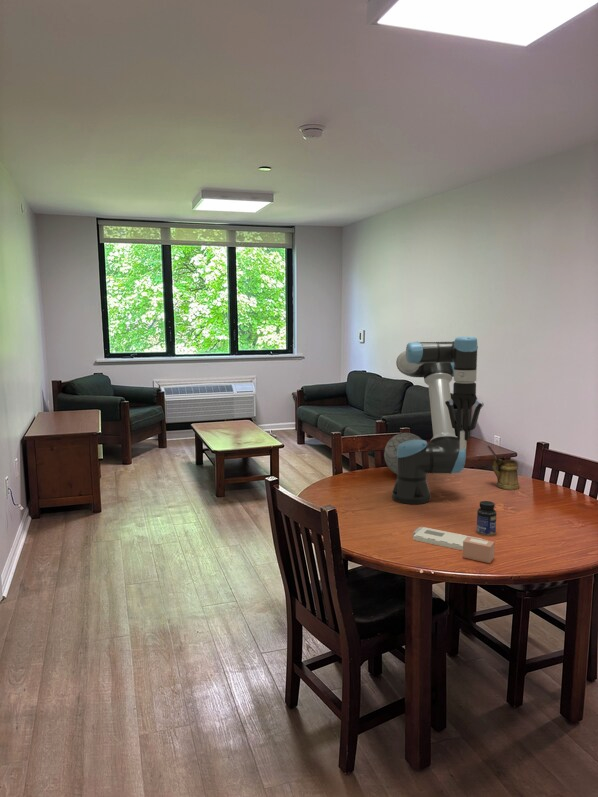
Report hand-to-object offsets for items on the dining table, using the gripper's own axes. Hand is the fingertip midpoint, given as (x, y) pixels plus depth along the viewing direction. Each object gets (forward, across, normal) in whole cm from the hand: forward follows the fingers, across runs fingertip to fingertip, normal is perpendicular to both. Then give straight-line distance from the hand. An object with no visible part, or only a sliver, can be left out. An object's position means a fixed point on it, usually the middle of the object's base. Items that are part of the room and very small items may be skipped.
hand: (462, 448), depth 198 cm
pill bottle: (+27, +11, -8) cm, 30 cm away
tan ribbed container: (+27, +2, +50) cm, 57 cm away
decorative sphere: (+27, -40, +45) cm, 66 cm away
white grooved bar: (+26, +3, -22) cm, 34 cm away
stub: (+26, +15, -30) cm, 42 cm away
